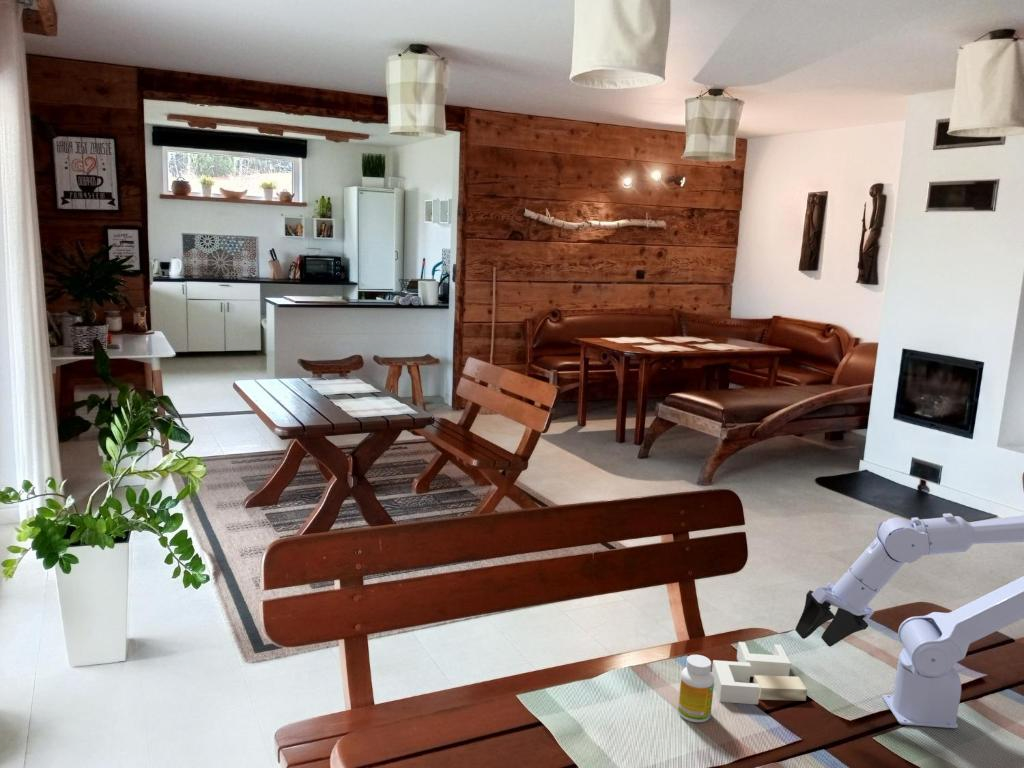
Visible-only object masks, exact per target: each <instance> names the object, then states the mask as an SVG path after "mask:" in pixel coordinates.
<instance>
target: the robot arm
mask: <svg viewBox="0 0 1024 768" xmlns="http://www.w3.org/2000/svg"><path fill="white" fill-rule="evenodd" d="M875 533H876V534H875V535H876V537H875V539H873V541H872V542H871V543H870V544H869V545H868V546H867V547H866V548H865V550H864V551H863V552H862V553H861V554H860V555H859V556H858V557H857V559H856V560H855V561H854V562H853V563H852V565H851V566H849V568H848V570H846V572H845V573H844V574H843V575H842V576H841V578H840V579H838V581H837V582H836V583H833V582H828V583H827V585H826V586H824V587H823V586H817V587H815V589H814V590H808V592H806V594H805V596H806V597H805V604H804V607H803V612H802V613H801V615H800V618H799V621H798V622H797V624H796V626H795V629H794V631H795V632H796V633H797V635H799V637H801V639H804V640H805V639H807V638H808V637H809V636H811V635H812V634H813V633H814V632H815V631H816V630H817V629H819V627H821V626H822V625H824V624H825V623H827V622H829V621H831V622H830V623H829V624H828V626H827V627H826V629H825V630H824V631H823V633H822V635H821V637H820V638H821V639H822V641H824V643H825V644H826V646H827V647H830V648H831V647H833V646H834V645H836V644H838V643H839V642H841V641H842V640H844V639H845V638H847V637H849V636H850V635H853V634H855V633H857V632H861V631H864V630H866V629H868V628H869V624H868V623H867V621H866V620H869V619H870V618H871V617H872V616H873V614H874V613H875V611H874V609H873V608H872V607H871V606H870V605H869V604H870V603H871V602H872V601H873V600H874V598H875V597H876V596H877V594H879V593H880V592H881V590H882V589H883V588H884V587H885V586H887V585H886V584H887V583H888V582H889V581H890V580H891V579H892V578H893V577H894V576H895V574H896V573H897V572H898V571H899V570H900V569H901V568H902V567H903V565H904V564H905V563H908V564H911V563H914V562H916V561H917V560H919V559H921V557H922V556H929V555H941V554H954V553H956V554H957V553H966V552H967V551H969V550H970V548H972V547H973V545H974V544H975V545H976V544H1001V543H1003V544H1005V543H1006V544H1007V543H1010V544H1011V543H1024V514H1023V515H1022V514H1021V515H1014V516H1008V517H1001V518H999V517H998V518H993V519H985V520H978V521H972V522H971V521H970V522H968V521H967V520H965V519H964V518H963V517H962V516H958V515H956V516H954V515H953V514H952V513H943V514H942V517H935V518H934V517H933V518H922V519H920V518H919V517H918V516H916V517H911V518H910V521H908V520H907V519H904V518H901V517H891V518H889V519H887V520H886V521H883V522H881V521H880V522H879V523H878V525H877V527H876V532H875ZM831 606H833V607H836V608H837V609H836V612H835V614H834V613H833V612H832V611H831ZM864 619H865V620H864ZM1022 619H1024V575H1023V576H1021V577H1019V578H1017V579H1014V580H1013V581H1011V582H1009V583H1006V584H1005V585H1002V586H1001V587H999V588H997V589H994V590H992V591H991V592H989V593H986V594H984V595H983V596H981V597H979V598H977V599H974V600H973V601H970V602H968V603H966V604H964V605H962V606H960V607H958V608H956V609H954V610H952V611H950V612H940V611H939V612H938V611H932V612H931V613H928V614H926V615H920V616H919V615H917V616H916V615H915V616H910V617H908V618H906V619H904V621H902V622H901V624H900V625H899V627H898V632H897V635H898V639H899V641H900V643H901V645H903V646H902V650H901V651H900V653H899V655H898V661H897V667H896V673H895V678H894V679H895V680H894V686H893V692H892V695H891V694H883V695H882V699H883V700H884V702H885V704H886V705H887V707H888V708H889V710H890V711H891V712H892V714H893V716H894V717H895V719H896V720H897V722H898V723H899V724H900V725H903V726H904V725H905V726H908V725H909V726H918V727H919V726H920V727H934V728H946V729H958V728H959V724H958V723H957V718H958V713H959V707H960V703H961V702H960V701H961V695H962V682H961V677H960V674H959V672H958V670H957V669H956V668H955V667H954V665H956V663H958V662H960V661H962V660H964V659H965V657H966V655H967V652H968V649H969V647H970V645H971V644H972V643H975V642H977V641H978V640H980V639H983V638H986V637H987V636H989V635H991V634H993V633H995V632H997V631H999V630H1002V629H1004V628H1005V627H1008V626H1010V625H1012V624H1014V623H1016V622H1019V621H1020V620H1022Z"/></svg>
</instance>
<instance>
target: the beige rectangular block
mask: <svg viewBox="0 0 1024 768" xmlns="http://www.w3.org/2000/svg"><path fill="white" fill-rule="evenodd" d="M752 683H757V684H759V686H760V693H759V700H760V701H761V700H763V701H764V700H765V701H766V700H767V701H769V700H770V701H799V702H800V701H801V702H804V701H805V702H806V701H807V692H808V689H807V687H806V686H805V684H804V683H803V681H802V680H801V678H800V677H799V676H792V675H791V676H790V675H789V676H762V675H754V677H753V680H752Z"/></svg>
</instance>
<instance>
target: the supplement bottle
mask: <svg viewBox="0 0 1024 768" xmlns="http://www.w3.org/2000/svg"><path fill="white" fill-rule="evenodd" d="M680 673H681V674H680V682H679V694H678V703H677V712H678V714H679V716H680V717H682V718H683V719H684V720H685V721H686V720H687V721H688V722H693V723H704V722H705V723H706V722H707V721H708V720H709V719H710V718H711V716H712V706H713V695H714V689H715V686H714V676H713V674H712V661H711V660H710V658H708V657H706V656H704V655H701V654H690V655H689V656H687V658H686V663H685V667H684V668H683V669H682V670H681V672H680Z"/></svg>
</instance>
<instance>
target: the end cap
mask: <svg viewBox="0 0 1024 768" xmlns="http://www.w3.org/2000/svg"><path fill="white" fill-rule="evenodd" d="M750 672H751V665H750V663H746V662H738V661H731V660H730V661H729V660H716V659H713V660H712V664H711V673H712V674H713V676H714V689H715V691H716V694H717V698H718V701H719V702H720V703H731V704H732V703H733V704H734V703H735V704H747V705H759V700H760V699H759V693H760V686H759V684H757V683H753V682H750V681H751V680H750V679H751V677H750Z"/></svg>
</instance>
